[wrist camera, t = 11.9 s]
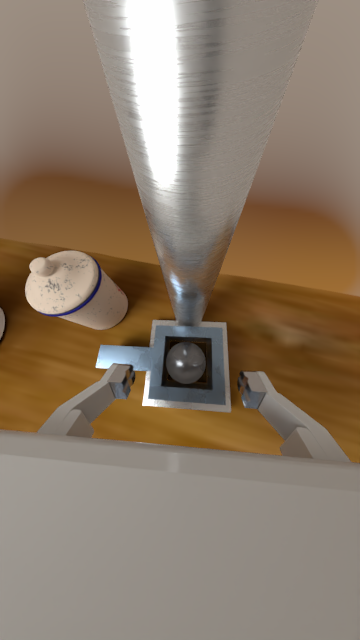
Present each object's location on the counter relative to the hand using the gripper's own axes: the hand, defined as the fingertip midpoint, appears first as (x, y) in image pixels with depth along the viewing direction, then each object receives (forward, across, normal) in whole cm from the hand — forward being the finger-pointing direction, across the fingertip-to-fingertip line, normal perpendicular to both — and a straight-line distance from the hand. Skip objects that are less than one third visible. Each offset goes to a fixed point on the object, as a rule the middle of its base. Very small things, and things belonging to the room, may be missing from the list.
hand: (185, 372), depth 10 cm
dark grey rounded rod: (+8, 0, +7) cm, 11 cm away
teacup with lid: (+15, +17, +1) cm, 22 cm away
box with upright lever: (+9, +3, +6) cm, 12 cm away
